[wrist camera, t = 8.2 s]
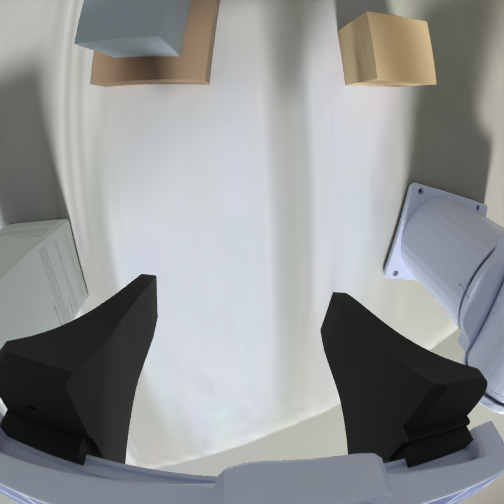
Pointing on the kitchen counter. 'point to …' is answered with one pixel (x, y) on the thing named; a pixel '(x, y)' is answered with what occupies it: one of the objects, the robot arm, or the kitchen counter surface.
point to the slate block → (133, 27)
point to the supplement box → (38, 278)
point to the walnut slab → (166, 67)
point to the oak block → (386, 51)
